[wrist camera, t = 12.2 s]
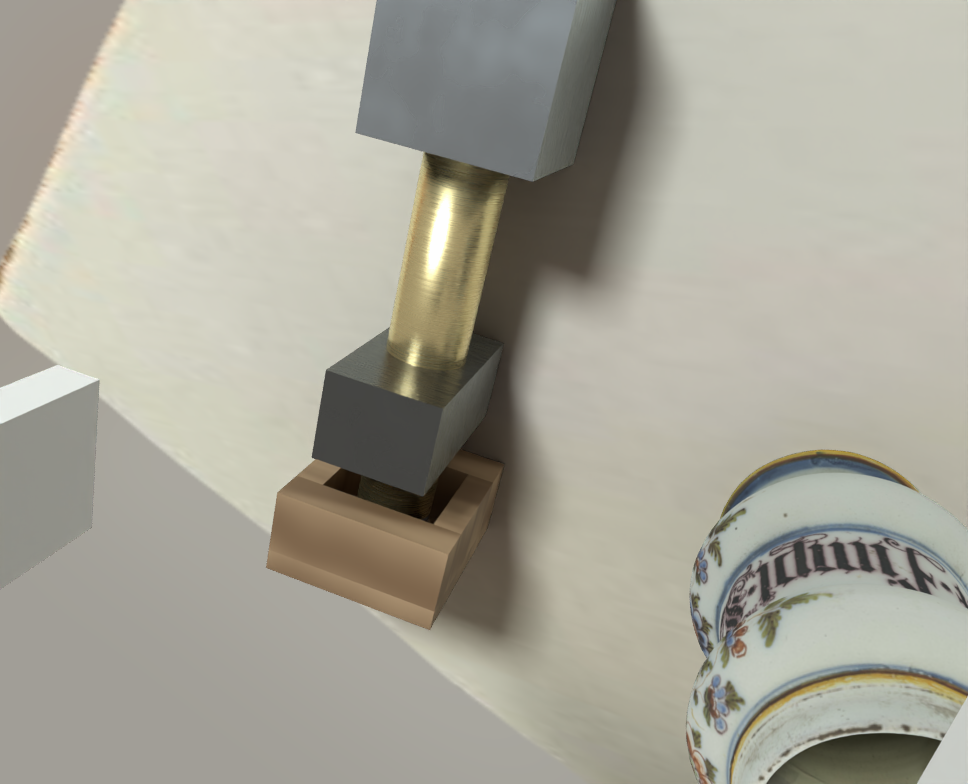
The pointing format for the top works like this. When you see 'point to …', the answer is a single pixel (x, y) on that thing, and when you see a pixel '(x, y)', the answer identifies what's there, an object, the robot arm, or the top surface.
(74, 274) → the top surface
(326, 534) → the socket block
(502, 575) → the top surface
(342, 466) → the tube
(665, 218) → the top surface
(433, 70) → the sleeve
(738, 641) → the apothecary jar
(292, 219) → the top surface
